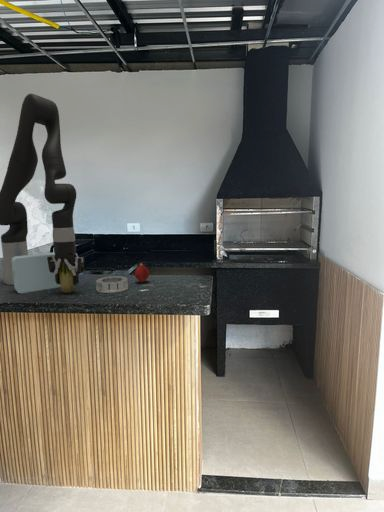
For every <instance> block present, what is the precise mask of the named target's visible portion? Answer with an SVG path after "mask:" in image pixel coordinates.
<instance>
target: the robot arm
mask: <svg viewBox="0 0 384 512" xmlns="http://www.w3.org/2000/svg"><path fill="white" fill-rule="evenodd" d="M20 109H21V110H20V114H19V121H18V127H17V131H16V135H15V140H14V144H13V147H12V151H11V154H10V157H9V161H8V165H7V170H6V173H5V176H4V180H3V183H2V186H1V189H0V226H9V227H8V230H6V232H4V233H2V234H1V235H0V242H1V249H2V250H1V251H2V259H3V260H1V270H2V271H1V272H2V279H3V284H5V285H8V286H14V280H13V271H12V262H11V260H12V258H13V257H15V256H24V255H29V252H28V251H29V250H28V241H27V236H28V233H29V231H28V230H29V229H28V228H29V227H28V225H29V224H28V211H27V209H26V206H25V205H24V204H23V203H22V202H20V201H16V200H17V197H18V195H19V194H20V193H21V192H22V191H23V190H24V188H26V187H27V185H28V184H29V183H30V182H31V181H32V180H33V177H34V176H35V173H36V171H37V166H38V163H39V158H38V157H39V156H38V153H37V150H36V146H35V143H34V139H33V137H34V136H33V134H34V127H35V125H36V124H39V125H42V126H44V127H45V129H46V133H47V134H46V140H45V143H44V145H43V148H42V152H41V161H42V164H43V165H42V166H43V169H44V174H45V175H44V176H45V179H44V180H45V181H44V193H43V194H44V198H45V200H46V202H48V203H49V204H51V205H52V204H53V205H58V204H59V205H60V204H63V207H62V208H61V209H58V210H55V211H52V213H51V222H52V243H53V244H52V245H53V252H54V253H55V256H49V257H47V260H48V266H49V271H50V272H51V273H54V274H55V281H56V283H57V284H60V280H59V269H60V267H63V264H62V263H64V267H66V268H69V269H70V270H71V271H72V273H73V285H75V286H77V285H79V284H80V281H79V278H80V274H83V273H84V270H85V257H84V256H81V257H80V256H78V257H77V256H76V254H75V253H77V247H76V246H77V245H76V233H75V229H74V228H75V227H74V209H75V205H76V201H77V200H76V199H77V189H76V188H75V186H74V185H73V184H71V183H57V182H56V181H58V180H62V179H64V178H65V177H66V176H67V169H66V165H65V162H64V161H65V160H64V157H63V152H62V144H61V126H60V125H61V124H60V123H61V122H60V113H59V107H58V106H57V104H56V103H55V102H54V101H52V100H51V99H49V98H45V97H42V96H41V95H38V94H35V93H27V95H26V96H25V97H24V99H23V101H22V104H21V108H20ZM55 260H56V262H57V264H56V265H55ZM75 261H77V263H78V265H76V263H75ZM72 266H73V267H72Z"/></svg>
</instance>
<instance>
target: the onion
mask: <svg viewBox="0 0 384 512" xmlns="http://www.w3.org/2000/svg"><path fill="white" fill-rule="evenodd" d="M134 277H135V279H136V280H138V281H139V282H140V283H145V281H147V280H148V278H149V277H150V271H149V269H148V268H147V267H146V266H145V265H144V264H143V263H139V266H138V267H136V268H135V271H134Z"/></svg>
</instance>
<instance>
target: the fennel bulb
mask: <svg viewBox="0 0 384 512" xmlns="http://www.w3.org/2000/svg"><path fill="white" fill-rule="evenodd" d="M62 264H63V267H60V269H59V280H60V286H61V287H60V289H61V292H62V293H63V294H72V293H73V292H75V291H76V285H73V273H72V271H71V270H70V269H69V268H66V267H64V263H62Z"/></svg>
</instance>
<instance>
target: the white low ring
mask: <svg viewBox="0 0 384 512" xmlns="http://www.w3.org/2000/svg"><path fill="white" fill-rule="evenodd" d="M95 281H96V291H97V292H98V293H101V294H116V293H122V292H125V291H127V290H128V289H129V280H128V277H126V276H119V275H118V276H117V275H115V276H114V275H112V276H105V277H101V278H98V279H96V280H95Z"/></svg>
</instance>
